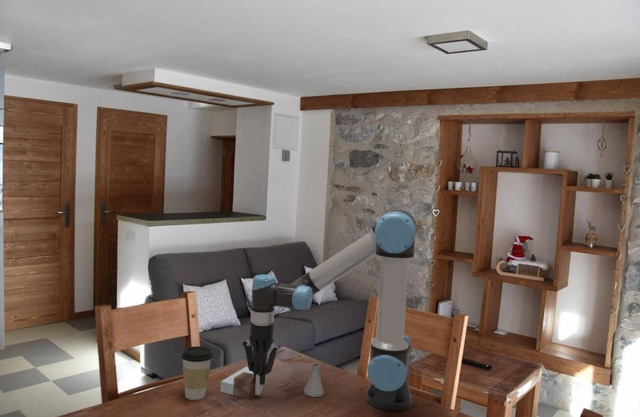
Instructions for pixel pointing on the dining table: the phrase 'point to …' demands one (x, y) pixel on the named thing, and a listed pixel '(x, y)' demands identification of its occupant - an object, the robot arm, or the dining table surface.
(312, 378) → the flask
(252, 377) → the walnut block
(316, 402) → the dining table surface
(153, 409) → the dining table surface
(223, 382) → the white rectangular block
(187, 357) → the coffee cup
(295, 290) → the robot arm
